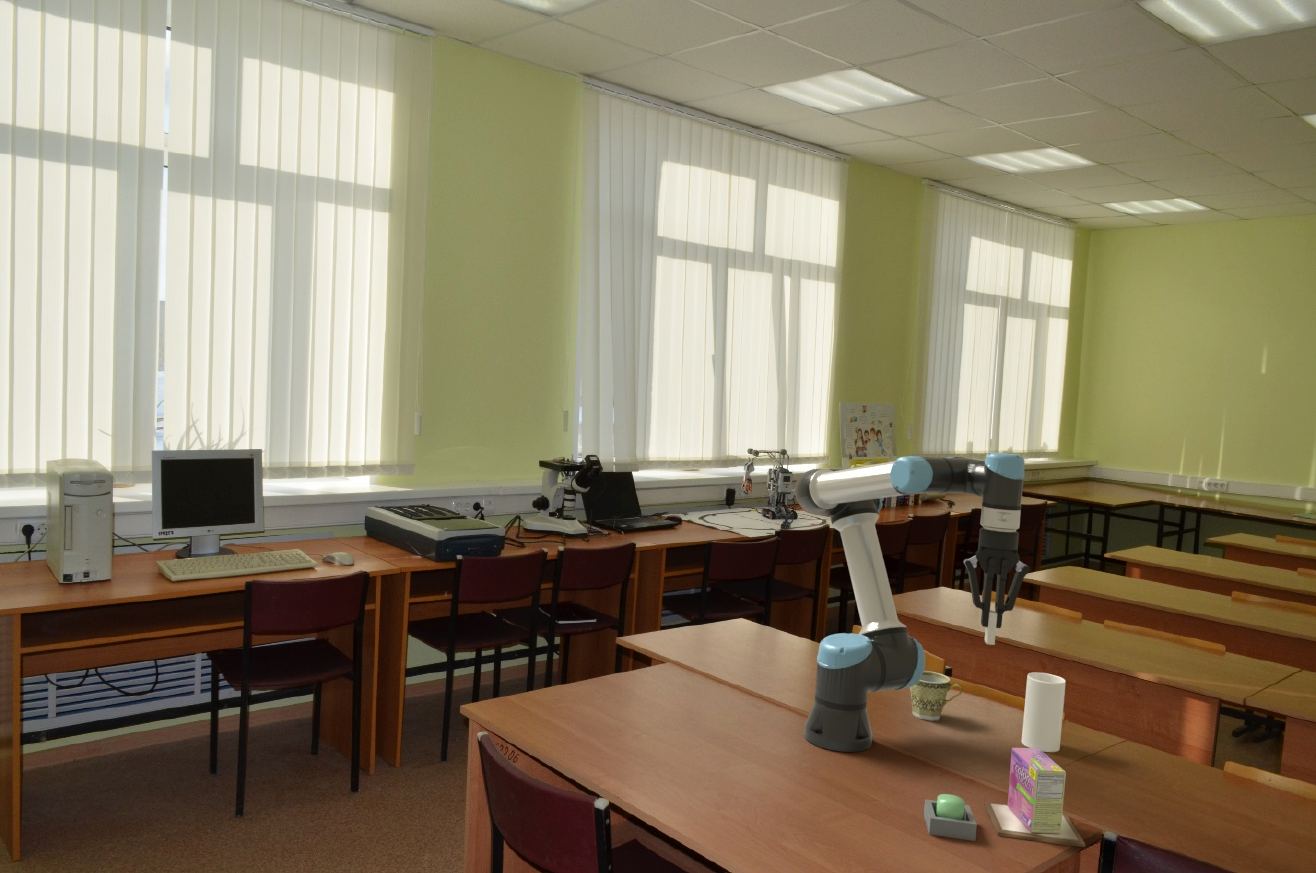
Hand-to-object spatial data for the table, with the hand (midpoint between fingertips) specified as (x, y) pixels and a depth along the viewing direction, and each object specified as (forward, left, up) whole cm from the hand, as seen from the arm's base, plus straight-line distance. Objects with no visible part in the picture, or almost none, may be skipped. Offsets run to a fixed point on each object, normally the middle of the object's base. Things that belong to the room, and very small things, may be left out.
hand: (989, 642), depth 189 cm
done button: (-9, -23, -29) cm, 38 cm away
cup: (+19, +28, -30) cm, 45 cm away
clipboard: (+7, -17, -29) cm, 35 cm away
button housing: (-9, -23, -29) cm, 38 cm away
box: (+7, -17, -29) cm, 34 cm away
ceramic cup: (-4, +39, -30) cm, 49 cm away
